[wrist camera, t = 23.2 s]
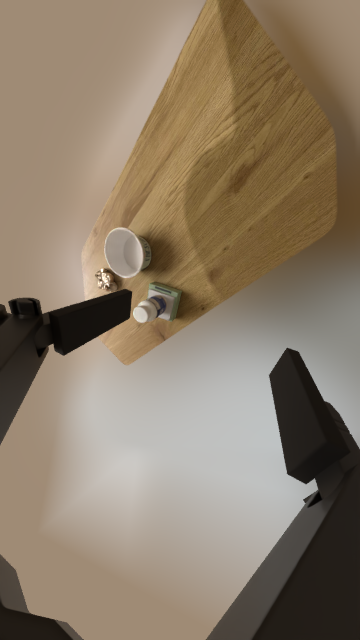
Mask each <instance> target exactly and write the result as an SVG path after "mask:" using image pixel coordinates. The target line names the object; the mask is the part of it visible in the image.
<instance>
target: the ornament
mask: <svg viewBox="0 0 360 640" xmlns="http://www.w3.org/2000/svg"><path fill="white" fill-rule="evenodd" d="M96 273H97V274H98V275H97V274H96V275H95V276H96V277H97V278H98V283H99V284H97V285H98V287H99V288H100V289H104V290H105V289H106V291H110V292H113V291H115V290H116V289H117V285H116V282H114V278H113V275H112V274H111V273H108V272H107V270H105V269H104V268H102V269H101V270H100V271H98V272H96ZM110 284H113V285H110Z"/></svg>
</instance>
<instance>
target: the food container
mask: <svg viewBox="0 0 360 640" xmlns="http://www.w3.org/2000/svg"><path fill="white" fill-rule="evenodd" d="M104 250H105V257H106V260H107V263H108V265H109V266H110V268H111V269H112V270H113V271H114V272H115V273H116V274H117V275H119V276H121V277H124V278H131V277H134V276H135V275H137V274H138V273H139V272H140V271H142V270H144V269H145V268H147V267H148V265H149V264H150V261H151V249H150V246H149V244H148V243H147V241H146V240H145V239H143V238H142V237H140V236H138V235H136V234H134V233H133V232H132V231H131V230H129V229H127V228H122V227H120V228H116V229H114V230H112V231H111V232H110V233H109V234H108V236H107V238H106V241H105V247H104Z"/></svg>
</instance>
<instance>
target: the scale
mask: <svg viewBox="0 0 360 640" xmlns="http://www.w3.org/2000/svg"><path fill="white" fill-rule="evenodd" d="M181 293H182V291H181V290H178V289H175V288H172V287H169V286H166V285H163V284H160V283H157V282H152V283H150V284H149V291H148V298H150V297H152V296H155V295H161V296H163V297H164V298H165V299H166V301H167V309H166V311H165V312H163V313H162V314H161V315H159V316H158V317H160V318H162V319H165V320H168V321H171V322H172V321H173V320H174V319H175V318H176V314H177V310H178V305H179V301H180V297H181ZM148 298H147V299H148Z"/></svg>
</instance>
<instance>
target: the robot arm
mask: <svg viewBox="0 0 360 640" xmlns="http://www.w3.org/2000/svg"><path fill="white" fill-rule="evenodd" d="M131 299H132V291H129V290H127V289H123V290H120V291H117V292H113V293H110V294H107V295H104V296H100V297H97V298H94V299H90V300H87V301H84V302H81V303H77V304H73V305H70V306H67V307H64V308H60V309H57V310H53V311H50V312H47V313H44V314H42V311H41V305H40V301H39V300H37V299H34V298H17V299H13V300H11V301H9V302H8V303H9V306H10V309H11V313H12V314H10V313H7V311H6V308H5V306H4V305H2V304H0V444H1V442H2V441H3V439H4V437H5V435H6V433H7V431H8V429H9V427H10V425H11V423H12V421H13V419H14V417H15V415H16V413H17V411H18V409H19V407H20V405H21V403H22V402H23V400H24V398H25V396H26V394H27V392H28V390H29V388H30V386H31V384H32V382H33V380H34V378H35V376H36V374H37V372H38V370H39V368H40V366H41V364H42V362H43V361H44V358H45V357H46V355H47V353H48V350H49V347H48V346H49V345H51V344H54V349H55V351H56V352H58V353H60V354H61V355H66V354H67V353H69V352H71V351H73V350H75V349H77V348H78V347H80V346H82V345H84V344H85V343H87V342H89V341H91V340H92V339H94V338H96V337H98V336H99V335H101V334H103V333H105V332H106V331H108V330H110V329H112V328H113V327H115V326H117V325H119V324H121V323H122V322H124V321H126V320H128V319H129V318H130V311H131ZM269 377H270V383H271V388H272V394H273V398H274V404H275V410H276V415H277V421H278V426H279V432H280V437H281V443H282V448H283V454H284V459H285V464H286V469H287V474H288V475H290V476H292V477H294V478H296V479H297V480H299V481H301V482H303V483H305V484H307V483H309V482H310V481H311V480H313V479H314V478H315V480H316V483H317V486H318V490H317V491H316V492H314V493H313V494H311V495H310V496H308V497H307V498H305V499H303V500H304V502H305V503H306V504H305V505H304V507H303V508H302V509H301V511H300V512H299V513H298V515H297V516H296V517H295V519H294V520H293V522H292V523H291V524H290V526H289V527H288V528H287V530H286V531H285V532H284V534H283V535H282V537H281V538H280V539H279V541H278V542H277V544H276V545H275V546H274V547H273V549H272V550H271V552H270V553H269V554H268V556H267V557H266V558H265V560H264V561H263V562H262V564H261V565H260V567H259V568H258V569H257V571H256V572H255V573H254V575H253V576H252V578H251V579H250V580H249V582H248V583H247V584H246V586H245V587H244V588H243V590H242V591H241V593H240V594H239V595H238V597H237V598H236V599H235V601H234V602H233V603H232V605H231V606H230V607H229V609H228V610H227V612H226V613H225V614H224V616H223V617H222V619H221V620H220V621H219V622H218V624H217V625H216V627H215V628H214V629H213V631H212V632H211V634H210V635H209V636H208V638H207V639H206V640H360V449H359V447H358V446H357V444H356V442H355V440H354V439H353V437H352V435H351V434H350V432H349V430H348V428H347V426H346V425H345V423H344V421H343V420H342V418H341V416H340V414H339V413H338V412H337V411H336V410H335V408H333V406H332V405H331V404H330V403H328V402H325V401H324V400H323V398H322V396H321V394H320V392H319V390H318V388H317V386H316V384H315V383H314V381H313V379H312V377H311V375H310V373H309V371H308V369H307V367H306V365H305V363H304V361H303V360H302V358H301V356H300V354H299V352H298V351H295V350H292V349H289V348H287V349H286V350H285V351H284V353H283V355H282V356H281V358H280V359H279V361H278V362H277V364H276V365H275V367H274V368H273V370H272V371H271V373H270V375H269ZM0 640H83V639H82V638H81V637H80V636H79V635H78V634H77V633H76V632H75V630H74V629H73V628H71V627H70V625H69V624H68V623H66V622H62V621H58V620H54V619H50V618H46V617H41V616H37V615H33V614H31V613H29V611H28V609H27V606H26V602H25V599H24V596H23V593H22V589H21V586H20V583H19V580H18V576H17V573H16V570H15V569H14V568H13V567H12V566H11V565H10V564H9V563H8V562H7V561H6V560H5V559H4V558H3V557H2V556H1V555H0Z"/></svg>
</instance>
